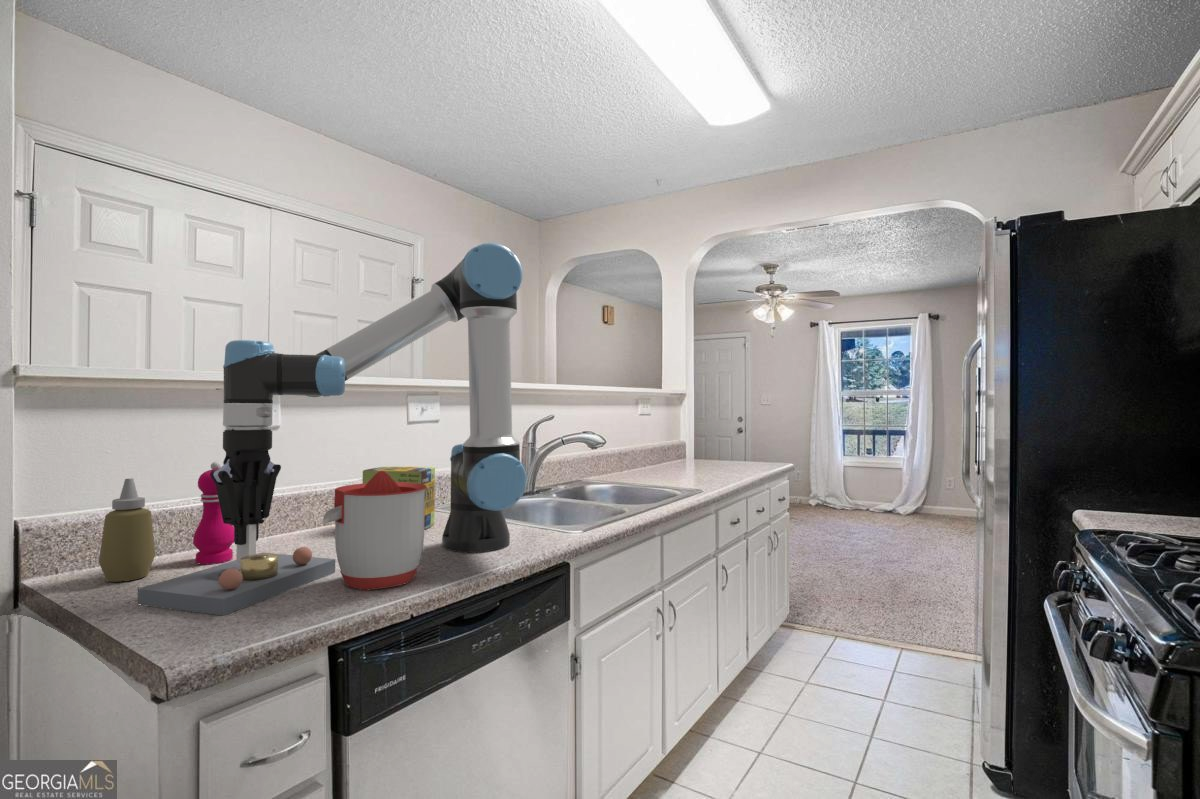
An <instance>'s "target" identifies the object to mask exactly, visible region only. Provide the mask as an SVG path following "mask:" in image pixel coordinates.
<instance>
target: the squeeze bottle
mask: <svg viewBox="0 0 1200 799" xmlns="http://www.w3.org/2000/svg"><path fill="white" fill-rule="evenodd" d="M137 491H138V490H137V487H136V484H135V481H134V478H132V477H131V478H125V479H124V481H123V486H122V488H121V492H120V496H119V498H115V499H112V502H111V509H112V510H111V511H109V512H108V513H106V515H105V516H104V522H103V523H104V524H103V530H102V537H101V544H100V550H99V558H98V564H99V567H100V568H101V570H102V574H103V576H104V577H105V581H107V582H110V583H113V582H114V583H123V582H122V581H124V582H131V581H135V580H138V579H142V578H145V577H147V576H148V574H149V572H150V570H151V567H152V565H153V562H154V559H155V556H156V547H155V536H154V526H153V518H152V511H151V510H149V509H148V508H144V507H145V506H146V498H145V497H140V496H138V492H137ZM130 580H131V581H130Z"/></svg>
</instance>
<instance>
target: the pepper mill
mask: <svg viewBox="0 0 1200 799" xmlns="http://www.w3.org/2000/svg"><path fill="white" fill-rule="evenodd" d="M221 467H222V464H221V462H219V461H214V462H212V463H211V464H210V469H208V470H206V471H203V473H201V474H200V475H199V477H198V479H197V487H198V489H199V491H201V492H202V494H200V498H201V499H200V502H202V507H203V508H202V515H201V519H200V521H199V524H198V525H197V528H196V530H195V531H194V534H193V540H192V542H193V543H192V544H193V546H194V547H195V548H196V549H197V550H198V552H196V553H195V564H198V563H200V564H199V565H213V564H212V563H216V564H221V562H222V563H227V562H228V561H229V562H230V561H231V560H232V559H233V558H234V556H233V552H234V551H233V549H232V548H231V547H232V546H233V544H235V543H234V526H233V525H229V524H224V522H223V518H222V514H221V509H220V504H219V499H218V494H217V490H216V485H215V483H214V481H213V479H212V478H211V476H210V473H211V471H213V470H215V471H217V470H219V469H220V468H221Z"/></svg>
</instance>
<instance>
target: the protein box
mask: <svg viewBox="0 0 1200 799" xmlns="http://www.w3.org/2000/svg"><path fill="white" fill-rule="evenodd" d="M381 470H382V471H385V472H386V473H387V474H388V475H389V476H390V477H391V478H392V479H393V480H394V481H395V482H409V483H419V484H423V485H426V489H425V512H424V530H425V531H426V530H428V529H430V528H432V527H433V525H434V524H435V519H436V518H435V511H436V510H435V508H436V507H435V499H436V498H435V497H436V494H435V493H436V491H435V490H436V488H435V485H436V484H435V483H436V467H435V466H377V467H372V468H367V469H364V470H363V469H362V483H368V482H369V481H370V479H371V478H372V477H373V476H374V475H375V474H376V473H378V472H379V471H381ZM431 526H432V527H431ZM434 526H435V525H434Z"/></svg>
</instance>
